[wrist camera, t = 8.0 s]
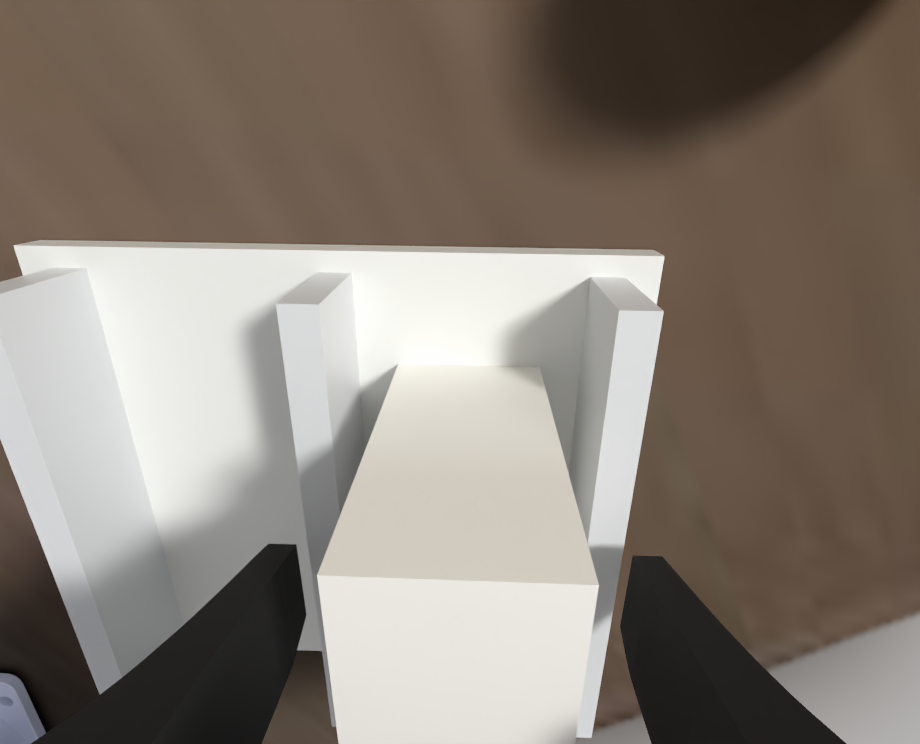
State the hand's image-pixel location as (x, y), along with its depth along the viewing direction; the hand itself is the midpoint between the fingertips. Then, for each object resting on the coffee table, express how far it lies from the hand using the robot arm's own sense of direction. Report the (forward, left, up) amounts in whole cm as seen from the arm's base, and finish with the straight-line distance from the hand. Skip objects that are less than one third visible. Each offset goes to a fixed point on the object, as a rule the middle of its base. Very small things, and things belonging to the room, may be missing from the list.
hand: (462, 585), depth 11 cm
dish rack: (0, +3, -4) cm, 5 cm away
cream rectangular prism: (0, 0, -3) cm, 3 cm away
